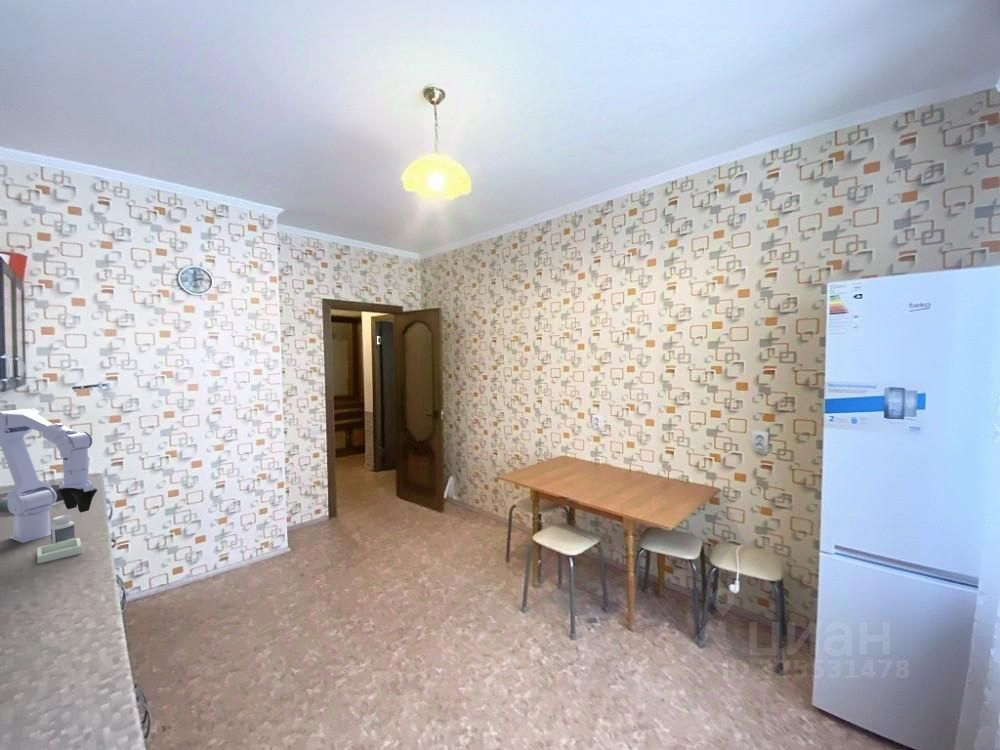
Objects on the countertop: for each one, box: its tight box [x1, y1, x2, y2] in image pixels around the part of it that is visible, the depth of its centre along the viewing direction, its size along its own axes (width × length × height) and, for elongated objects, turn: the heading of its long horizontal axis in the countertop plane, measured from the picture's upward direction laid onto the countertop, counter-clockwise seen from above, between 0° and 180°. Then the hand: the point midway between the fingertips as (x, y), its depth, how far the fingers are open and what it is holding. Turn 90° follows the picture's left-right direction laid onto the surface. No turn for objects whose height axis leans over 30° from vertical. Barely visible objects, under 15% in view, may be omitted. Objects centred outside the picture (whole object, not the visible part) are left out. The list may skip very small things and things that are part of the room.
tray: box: [36, 537, 83, 564], centre depth 124 cm, size 9×9×2 cm
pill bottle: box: [50, 514, 76, 544], centre depth 132 cm, size 5×5×9 cm
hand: (77, 509), depth 133 cm, fingers open, 7 cm apart
